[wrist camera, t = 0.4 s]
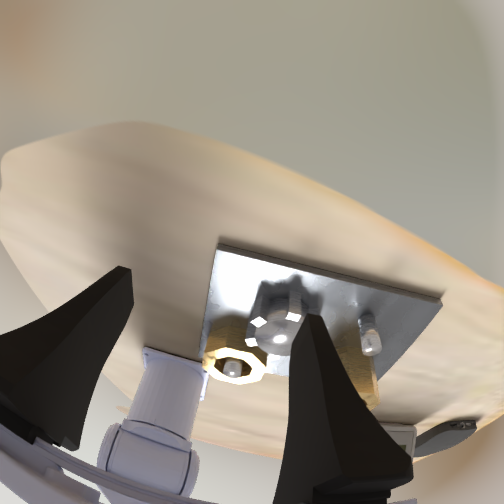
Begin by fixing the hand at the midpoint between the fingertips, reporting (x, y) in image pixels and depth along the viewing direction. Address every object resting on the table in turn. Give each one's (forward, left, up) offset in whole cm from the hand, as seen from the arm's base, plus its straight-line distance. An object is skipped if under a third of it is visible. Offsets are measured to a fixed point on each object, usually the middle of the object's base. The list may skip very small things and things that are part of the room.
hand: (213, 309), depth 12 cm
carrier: (-11, -9, -10) cm, 17 cm away
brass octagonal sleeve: (-14, -13, -9) cm, 21 cm away
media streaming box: (-38, -49, -11) cm, 63 cm away
